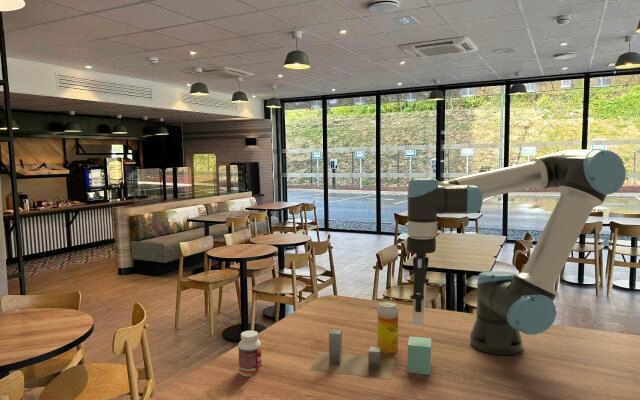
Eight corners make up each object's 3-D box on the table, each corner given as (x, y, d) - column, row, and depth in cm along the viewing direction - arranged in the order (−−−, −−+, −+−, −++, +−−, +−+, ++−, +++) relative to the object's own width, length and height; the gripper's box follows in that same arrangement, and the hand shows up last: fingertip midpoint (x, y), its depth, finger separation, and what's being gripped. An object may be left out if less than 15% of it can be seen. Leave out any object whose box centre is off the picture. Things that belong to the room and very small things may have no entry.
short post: (380, 364, 130) (380, 347, 130) (379, 369, 128) (379, 352, 127) (369, 363, 131) (370, 346, 131) (368, 368, 128) (368, 351, 128)
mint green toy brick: (430, 368, 131) (431, 338, 130) (430, 379, 125) (430, 347, 124) (408, 366, 132) (409, 336, 131) (407, 376, 126) (407, 345, 125)
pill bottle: (262, 376, 127) (262, 337, 126) (239, 378, 126) (238, 339, 124) (260, 365, 133) (259, 328, 132) (238, 368, 132) (237, 330, 130)
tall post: (341, 360, 133) (341, 330, 132) (339, 365, 130) (339, 334, 129) (331, 359, 134) (331, 329, 133) (329, 364, 131) (329, 333, 130)
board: (394, 363, 134) (395, 359, 134) (390, 383, 123) (390, 379, 122) (320, 355, 140) (320, 351, 140) (309, 373, 128) (309, 369, 128)
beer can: (397, 357, 138) (397, 308, 136) (376, 355, 139) (376, 306, 137) (398, 348, 144) (398, 301, 142) (378, 347, 145) (378, 300, 143)
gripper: (410, 228, 137) (408, 298, 140) (403, 245, 113) (401, 329, 116) (436, 229, 135) (434, 300, 138) (435, 246, 111) (432, 332, 114)
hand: (419, 314), depth 127 cm, fingers open, 13 cm apart
